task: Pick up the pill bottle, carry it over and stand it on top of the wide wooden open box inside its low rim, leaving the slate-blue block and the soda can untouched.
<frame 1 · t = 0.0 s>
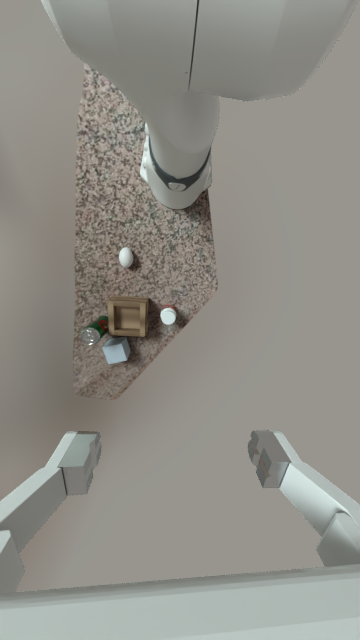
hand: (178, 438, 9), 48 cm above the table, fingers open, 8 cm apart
slate block: (120, 345, 59), on the table
wooden open box: (131, 313, 56), on the table
soda can: (105, 322, 56), on the table
egg: (127, 258, 51), on the table
pill bottle: (168, 310, 57), on the table
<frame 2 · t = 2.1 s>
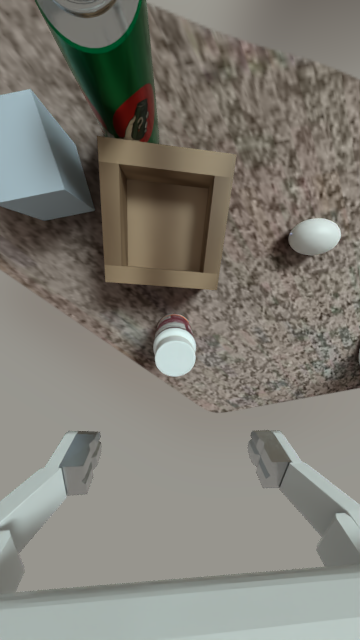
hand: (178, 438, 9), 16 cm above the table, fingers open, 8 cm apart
slate block: (59, 185, 19), on the table
wooden open box: (167, 235, 21), on the table
soda can: (135, 142, 18), on the table
egg: (300, 239, 22), on the table
pill bottle: (173, 327, 25), on the table
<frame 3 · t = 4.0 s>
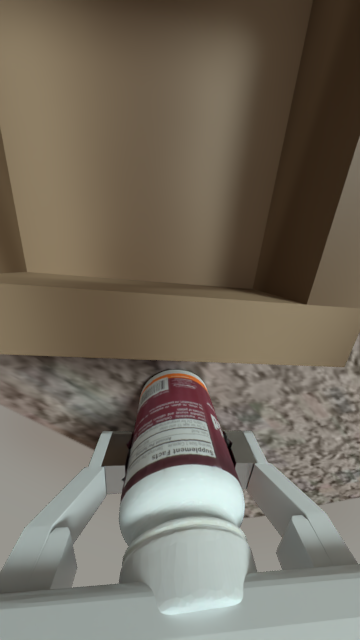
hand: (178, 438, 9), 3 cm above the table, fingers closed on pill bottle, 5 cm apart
wooden open box: (157, 196, 8), on the table
pill bottle: (174, 393, 12), on the table, touching gripper
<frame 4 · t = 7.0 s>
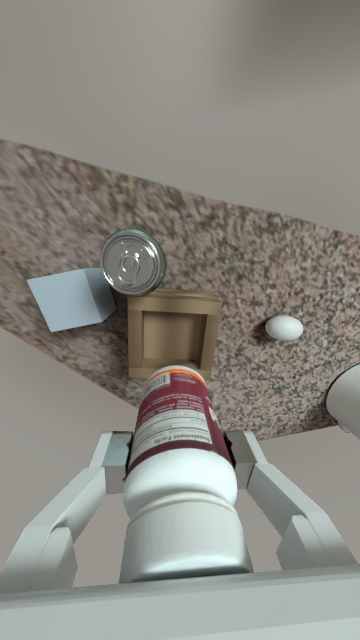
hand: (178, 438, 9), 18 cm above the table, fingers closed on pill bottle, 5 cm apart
slate block: (90, 293, 24), on the table
wooden open box: (171, 324, 27), on the table
soda can: (148, 264, 24), on the table
egg: (275, 323, 28), on the table
pill bottle: (175, 388, 13), point 14 cm above the table, touching gripper
when the fingers open (8 cm above the table, at t = 9.9 s): pill bottle stays where it is, resting on wooden open box.
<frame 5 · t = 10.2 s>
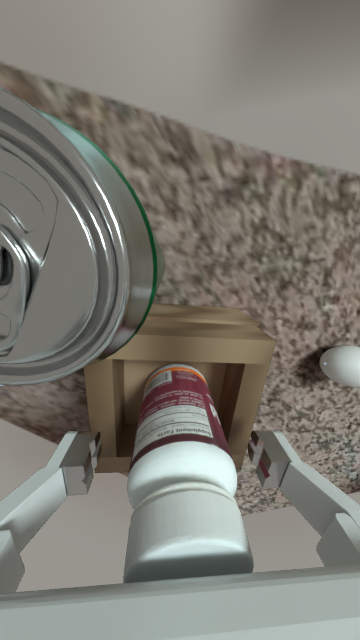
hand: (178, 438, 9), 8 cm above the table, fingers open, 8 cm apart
wooden open box: (172, 359, 17), on the table
soda can: (134, 264, 14), on the table
egg: (330, 354, 18), on the table
pill bottle: (176, 386, 13), point 4 cm above the table, touching wooden open box
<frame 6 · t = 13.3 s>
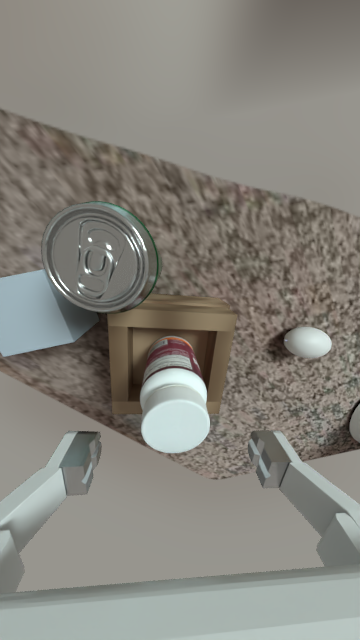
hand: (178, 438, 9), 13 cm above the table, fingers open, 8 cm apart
slate block: (64, 300, 19), on the table
wooden open box: (169, 338, 21), on the table
soda can: (139, 264, 19), on the table
egg: (294, 335, 23), on the table
pill bottle: (171, 354, 18), point 4 cm above the table, touching wooden open box
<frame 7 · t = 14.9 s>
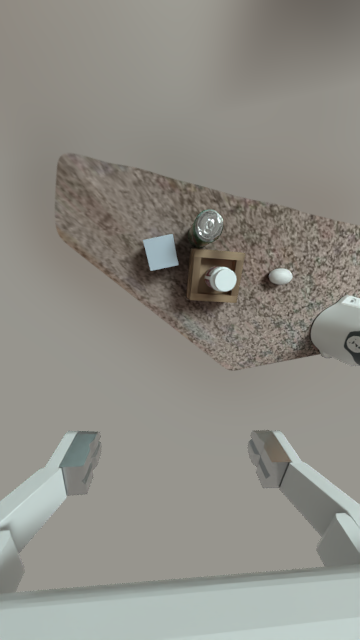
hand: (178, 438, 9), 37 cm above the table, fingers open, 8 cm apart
slate block: (162, 254, 40), on the table
wooden open box: (210, 275, 42), on the table
soda can: (198, 236, 40), on the table
egg: (275, 276, 44), on the table
pill bottle: (214, 277, 39), point 4 cm above the table, touching wooden open box
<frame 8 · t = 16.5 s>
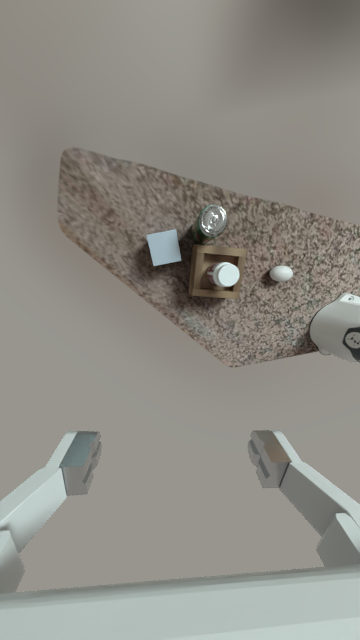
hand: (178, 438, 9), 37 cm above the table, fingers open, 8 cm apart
slate block: (164, 250, 41), on the table
wooden open box: (211, 271, 43), on the table
soda can: (200, 232, 40), on the table
egg: (275, 273, 44), on the table
pill bottle: (216, 273, 39), point 4 cm above the table, touching wooden open box
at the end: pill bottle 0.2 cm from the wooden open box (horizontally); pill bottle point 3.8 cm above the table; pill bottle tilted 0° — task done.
